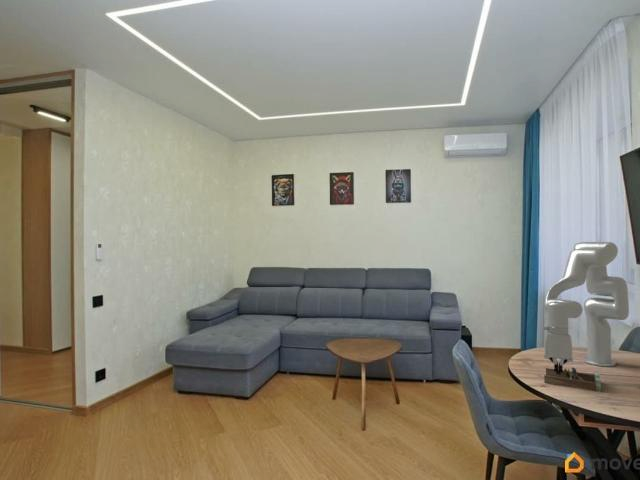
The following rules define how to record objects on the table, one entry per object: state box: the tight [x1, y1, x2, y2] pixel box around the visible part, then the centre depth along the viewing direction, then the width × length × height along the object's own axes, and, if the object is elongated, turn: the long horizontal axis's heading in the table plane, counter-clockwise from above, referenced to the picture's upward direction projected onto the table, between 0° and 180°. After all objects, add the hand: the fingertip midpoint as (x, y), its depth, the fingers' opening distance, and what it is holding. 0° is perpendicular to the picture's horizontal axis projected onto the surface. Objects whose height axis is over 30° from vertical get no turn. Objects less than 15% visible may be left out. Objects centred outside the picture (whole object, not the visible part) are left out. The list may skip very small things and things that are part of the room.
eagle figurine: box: [563, 367, 584, 381], centre depth 165 cm, size 8×7×9 cm
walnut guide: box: [543, 367, 602, 392], centre depth 166 cm, size 12×20×4 cm, turn 57°
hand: (558, 373), depth 168 cm, fingers closed
